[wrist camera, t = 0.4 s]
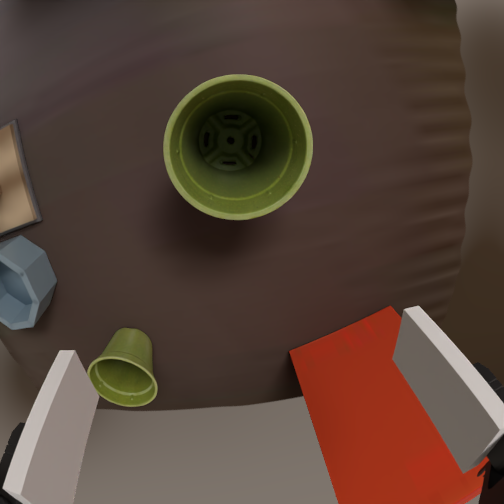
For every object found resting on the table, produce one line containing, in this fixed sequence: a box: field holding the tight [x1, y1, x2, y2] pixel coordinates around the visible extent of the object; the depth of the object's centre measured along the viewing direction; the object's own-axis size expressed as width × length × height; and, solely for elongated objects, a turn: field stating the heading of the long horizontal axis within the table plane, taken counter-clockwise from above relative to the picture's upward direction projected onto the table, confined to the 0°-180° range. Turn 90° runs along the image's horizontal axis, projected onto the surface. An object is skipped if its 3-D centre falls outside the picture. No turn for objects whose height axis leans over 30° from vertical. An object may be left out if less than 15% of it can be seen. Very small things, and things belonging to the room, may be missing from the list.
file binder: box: [289, 306, 489, 504], centre depth 33 cm, size 8×17×32 cm, turn 112°
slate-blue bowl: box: [0, 235, 57, 330], centre depth 34 cm, size 11×11×6 cm
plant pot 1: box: [87, 328, 158, 407], centre depth 39 cm, size 9×9×9 cm
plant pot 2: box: [163, 74, 313, 220], centre depth 29 cm, size 12×12×11 cm
